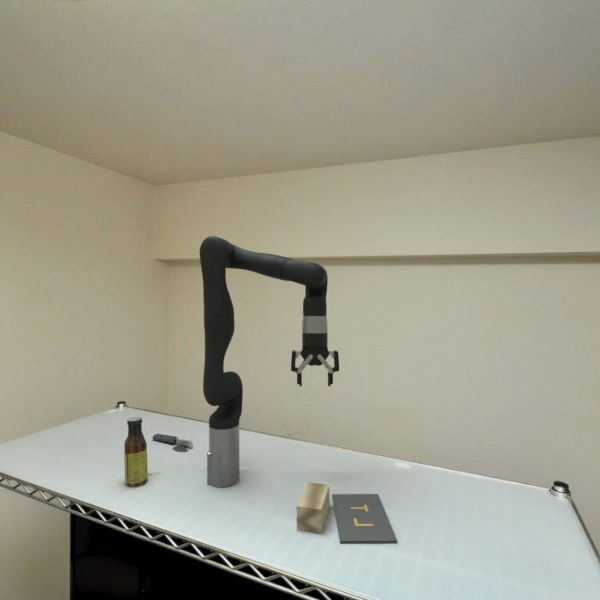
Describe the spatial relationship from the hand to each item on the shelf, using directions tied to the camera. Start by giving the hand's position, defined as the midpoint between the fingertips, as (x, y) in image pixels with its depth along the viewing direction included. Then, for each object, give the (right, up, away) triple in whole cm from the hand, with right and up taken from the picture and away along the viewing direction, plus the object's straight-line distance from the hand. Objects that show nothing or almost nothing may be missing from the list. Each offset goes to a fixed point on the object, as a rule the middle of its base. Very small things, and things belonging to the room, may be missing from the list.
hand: (315, 385), depth 107 cm
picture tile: (+11, -30, -15) cm, 35 cm away
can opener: (-52, -31, +27) cm, 67 cm away
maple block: (-1, -30, -15) cm, 34 cm away
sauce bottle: (-54, -31, +2) cm, 62 cm away
